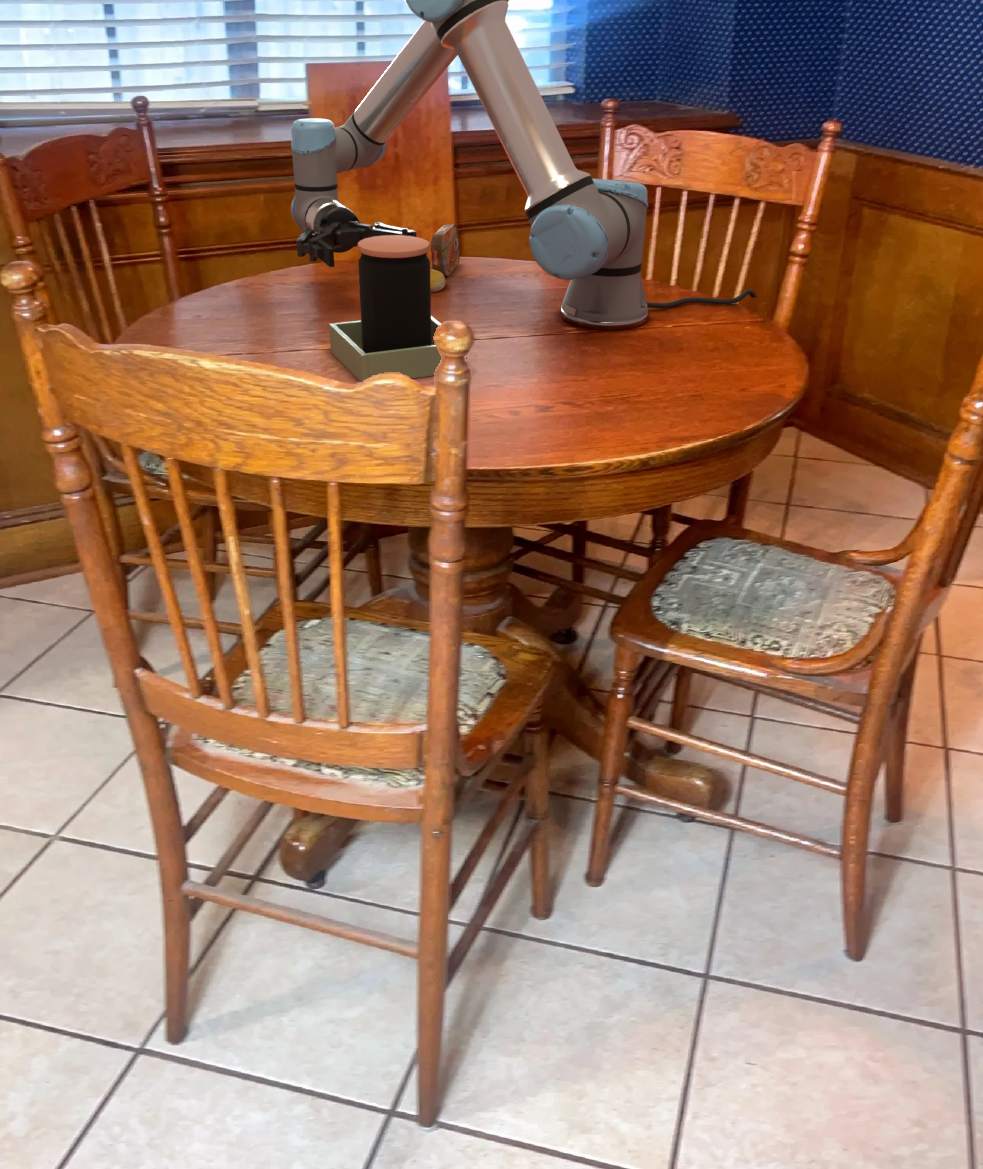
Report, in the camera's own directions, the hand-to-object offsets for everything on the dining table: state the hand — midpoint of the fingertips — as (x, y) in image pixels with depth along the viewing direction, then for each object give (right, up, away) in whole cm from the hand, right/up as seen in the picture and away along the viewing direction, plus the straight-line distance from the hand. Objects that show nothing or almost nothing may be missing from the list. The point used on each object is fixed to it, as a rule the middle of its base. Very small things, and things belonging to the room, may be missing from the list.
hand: (373, 254), depth 162 cm
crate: (+4, -17, 0) cm, 17 cm away
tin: (+9, +12, +48) cm, 50 cm away
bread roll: (+5, +5, +37) cm, 38 cm away
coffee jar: (+4, -17, 0) cm, 17 cm away
